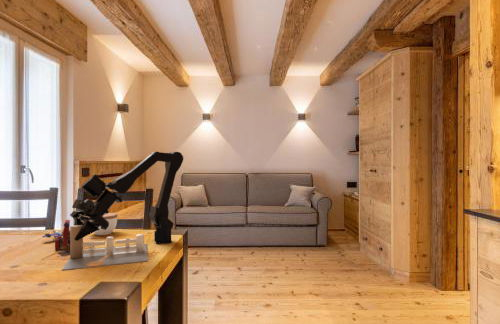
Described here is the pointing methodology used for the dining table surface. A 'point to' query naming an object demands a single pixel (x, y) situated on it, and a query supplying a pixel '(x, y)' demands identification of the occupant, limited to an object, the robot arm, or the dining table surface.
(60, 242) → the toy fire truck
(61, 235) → the toy airplane
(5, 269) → the dining table surface
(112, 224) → the lidded bowl
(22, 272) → the dining table surface
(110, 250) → the fence fixed
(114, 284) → the dining table surface
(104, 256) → the card
